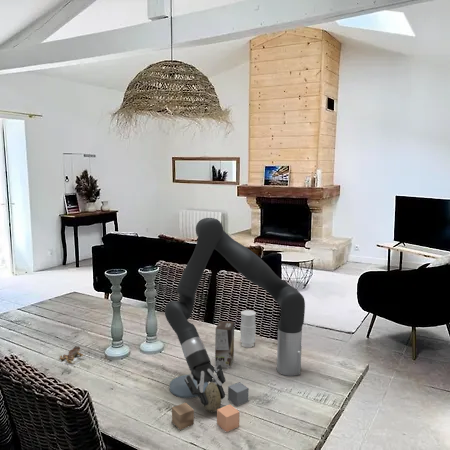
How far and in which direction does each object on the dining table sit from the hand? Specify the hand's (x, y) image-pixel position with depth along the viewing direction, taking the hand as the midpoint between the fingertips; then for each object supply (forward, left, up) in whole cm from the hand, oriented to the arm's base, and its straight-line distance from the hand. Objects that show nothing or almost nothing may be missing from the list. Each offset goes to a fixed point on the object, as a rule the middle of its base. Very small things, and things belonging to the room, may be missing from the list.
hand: (214, 401), depth 136 cm
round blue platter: (+13, -13, -4) cm, 19 cm away
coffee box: (+5, -35, -5) cm, 36 cm away
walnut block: (+8, +7, -4) cm, 12 cm away
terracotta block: (-6, +5, -4) cm, 9 cm away
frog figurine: (+68, -23, -5) cm, 72 cm away
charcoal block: (-6, -10, -4) cm, 12 cm away
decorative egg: (+1, -1, -4) cm, 5 cm away
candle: (-1, -54, -4) cm, 54 cm away
